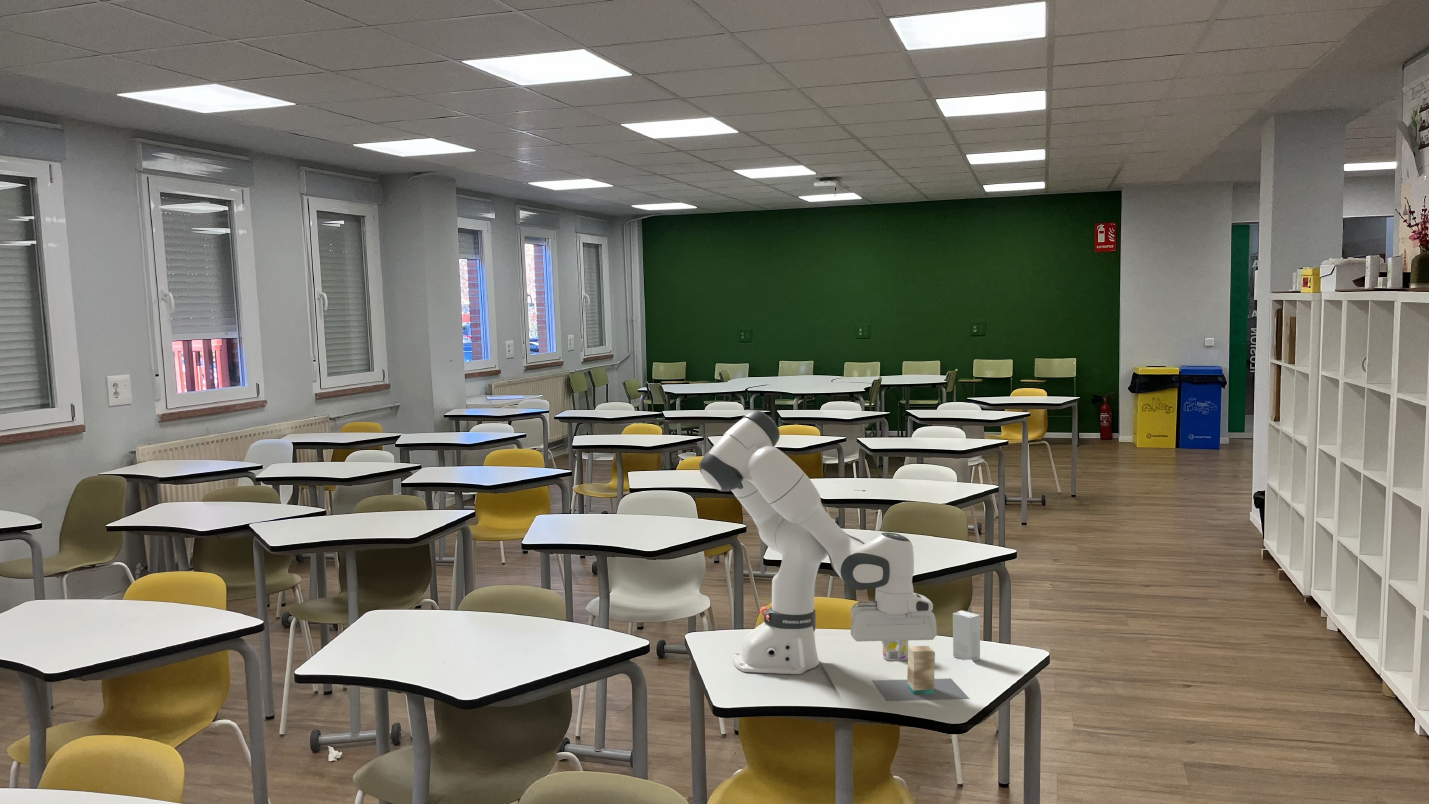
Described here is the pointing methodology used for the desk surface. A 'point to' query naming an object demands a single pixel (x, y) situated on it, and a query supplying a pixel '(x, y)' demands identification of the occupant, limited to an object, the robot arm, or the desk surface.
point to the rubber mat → (901, 692)
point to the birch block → (921, 669)
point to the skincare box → (966, 635)
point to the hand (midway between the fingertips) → (892, 657)
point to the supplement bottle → (902, 653)
